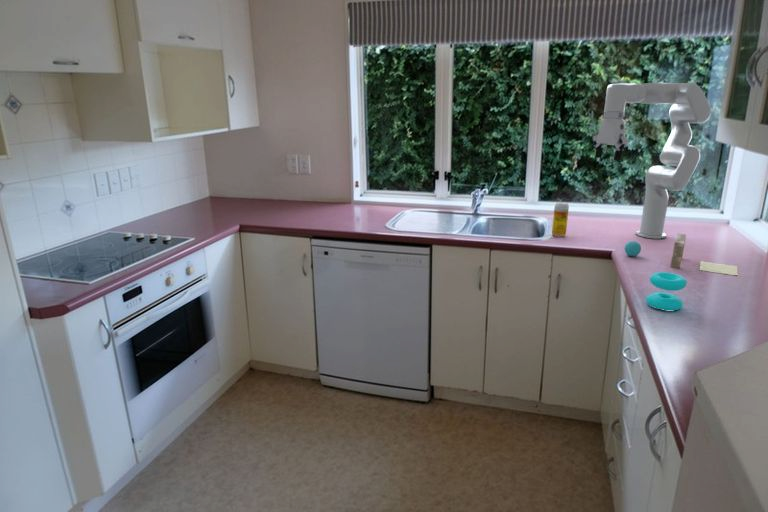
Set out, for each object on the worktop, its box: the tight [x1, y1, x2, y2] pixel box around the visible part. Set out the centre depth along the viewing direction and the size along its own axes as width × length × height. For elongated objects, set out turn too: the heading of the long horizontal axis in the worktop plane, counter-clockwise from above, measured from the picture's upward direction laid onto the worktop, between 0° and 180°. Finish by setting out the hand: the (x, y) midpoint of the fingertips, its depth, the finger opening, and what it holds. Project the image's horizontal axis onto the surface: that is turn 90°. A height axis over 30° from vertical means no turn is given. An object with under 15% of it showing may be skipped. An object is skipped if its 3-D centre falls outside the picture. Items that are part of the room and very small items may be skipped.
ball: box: [624, 240, 642, 257], centre depth 213 cm, size 6×6×6 cm
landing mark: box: [699, 261, 739, 277], centre depth 199 cm, size 12×12×1 cm
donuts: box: [645, 271, 688, 311], centre depth 163 cm, size 10×10×10 cm
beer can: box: [551, 201, 570, 238], centre depth 241 cm, size 6×6×15 cm
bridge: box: [670, 233, 687, 269], centre depth 205 cm, size 3×15×10 cm, turn 149°
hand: (607, 158), depth 219 cm, fingers open, 9 cm apart
